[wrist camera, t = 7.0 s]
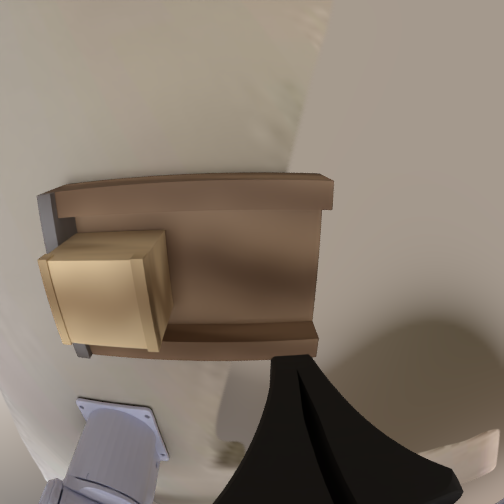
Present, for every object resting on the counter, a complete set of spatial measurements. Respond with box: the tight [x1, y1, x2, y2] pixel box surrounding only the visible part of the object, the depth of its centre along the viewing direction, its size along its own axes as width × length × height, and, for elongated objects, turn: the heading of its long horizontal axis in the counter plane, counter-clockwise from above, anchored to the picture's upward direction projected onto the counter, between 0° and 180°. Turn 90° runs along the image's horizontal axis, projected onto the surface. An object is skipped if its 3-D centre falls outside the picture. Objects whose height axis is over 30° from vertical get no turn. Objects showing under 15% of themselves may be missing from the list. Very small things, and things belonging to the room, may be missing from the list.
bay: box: [37, 173, 334, 361], centre depth 18 cm, size 11×16×4 cm
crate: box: [38, 230, 174, 352], centre depth 16 cm, size 5×6×5 cm
